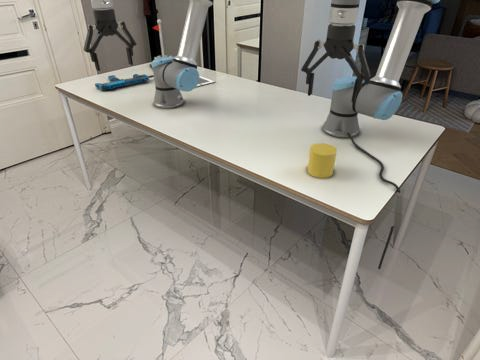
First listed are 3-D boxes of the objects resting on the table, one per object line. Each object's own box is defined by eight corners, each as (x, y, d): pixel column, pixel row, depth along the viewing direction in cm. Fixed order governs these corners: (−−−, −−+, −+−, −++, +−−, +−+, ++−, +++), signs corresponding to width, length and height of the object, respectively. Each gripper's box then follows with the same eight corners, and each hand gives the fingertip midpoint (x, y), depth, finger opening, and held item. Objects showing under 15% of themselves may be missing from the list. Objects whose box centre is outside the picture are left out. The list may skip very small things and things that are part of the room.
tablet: (160, 77, 218) (160, 76, 218) (186, 71, 229) (186, 70, 229) (187, 89, 198) (187, 88, 198) (215, 82, 209) (215, 81, 209)
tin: (328, 164, 125) (332, 142, 120) (336, 177, 118) (340, 154, 113) (304, 165, 125) (307, 143, 120) (310, 178, 117) (313, 155, 112)
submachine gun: (139, 68, 225) (158, 74, 208) (140, 74, 226) (158, 80, 210) (87, 78, 206) (103, 86, 189) (89, 84, 208) (104, 92, 191)
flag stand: (171, 62, 250) (166, 17, 233) (175, 66, 239) (170, 20, 223) (153, 63, 246) (147, 18, 229) (157, 68, 235) (150, 21, 219)
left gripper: (71, 12, 116) (86, 74, 128) (139, 7, 129) (147, 63, 141) (64, 10, 121) (80, 70, 133) (131, 5, 134) (139, 60, 146)
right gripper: (295, 23, 96) (289, 95, 108) (388, 29, 88) (371, 107, 99) (302, 19, 102) (296, 88, 114) (390, 24, 93) (374, 99, 105)
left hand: (115, 67), depth 137 cm, fingers open, 13 cm apart
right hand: (331, 97), depth 106 cm, fingers open, 13 cm apart
